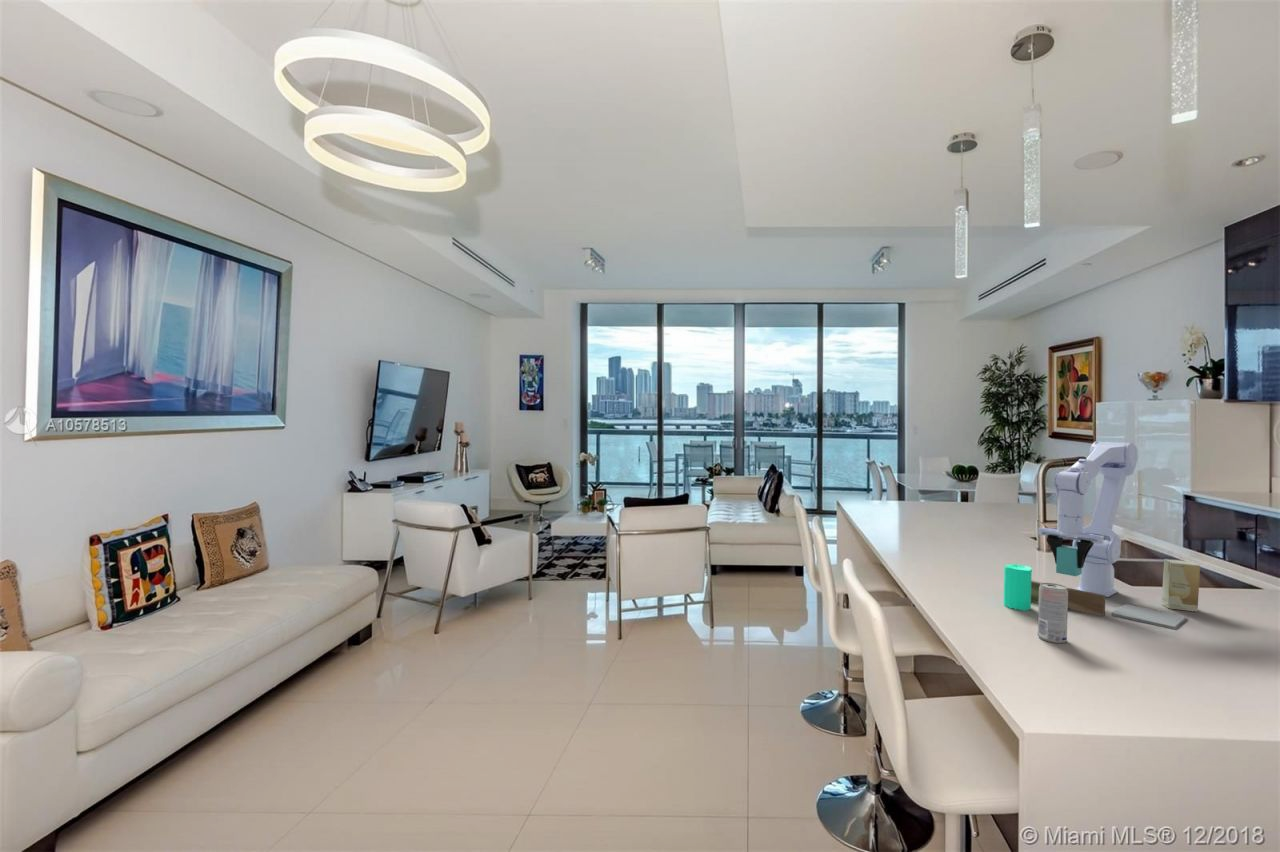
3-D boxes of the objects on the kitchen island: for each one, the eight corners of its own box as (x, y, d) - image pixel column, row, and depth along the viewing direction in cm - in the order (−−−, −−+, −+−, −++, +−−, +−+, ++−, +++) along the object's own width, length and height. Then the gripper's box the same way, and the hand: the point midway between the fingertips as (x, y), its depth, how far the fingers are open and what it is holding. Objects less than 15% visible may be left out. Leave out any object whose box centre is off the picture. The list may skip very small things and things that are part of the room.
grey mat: (1125, 606, 156) (1125, 604, 156) (1186, 619, 147) (1186, 616, 147) (1111, 615, 149) (1111, 612, 149) (1174, 629, 139) (1174, 626, 139)
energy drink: (1062, 636, 134) (1063, 583, 134) (1070, 645, 129) (1071, 590, 129) (1034, 633, 136) (1035, 581, 136) (1041, 641, 131) (1043, 587, 131)
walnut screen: (1016, 595, 165) (1017, 577, 165) (1105, 615, 149) (1105, 595, 149) (1014, 596, 164) (1014, 578, 164) (1103, 616, 148) (1103, 596, 148)
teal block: (1062, 570, 164) (1062, 545, 164) (1081, 573, 161) (1082, 548, 161) (1056, 572, 162) (1056, 547, 161) (1075, 576, 158) (1076, 550, 158)
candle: (1022, 603, 158) (1023, 558, 158) (1035, 610, 152) (1036, 564, 152) (999, 602, 158) (1000, 557, 158) (1010, 609, 153) (1011, 563, 152)
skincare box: (1168, 609, 154) (1169, 562, 154) (1160, 604, 158) (1162, 558, 158) (1199, 612, 152) (1201, 565, 152) (1191, 607, 156) (1192, 561, 156)
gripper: (1034, 513, 164) (1033, 562, 165) (1098, 521, 153) (1096, 573, 153) (1043, 511, 169) (1042, 558, 169) (1106, 518, 157) (1105, 569, 157)
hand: (1069, 565), depth 161 cm, fingers closed on teal block, 4 cm apart
